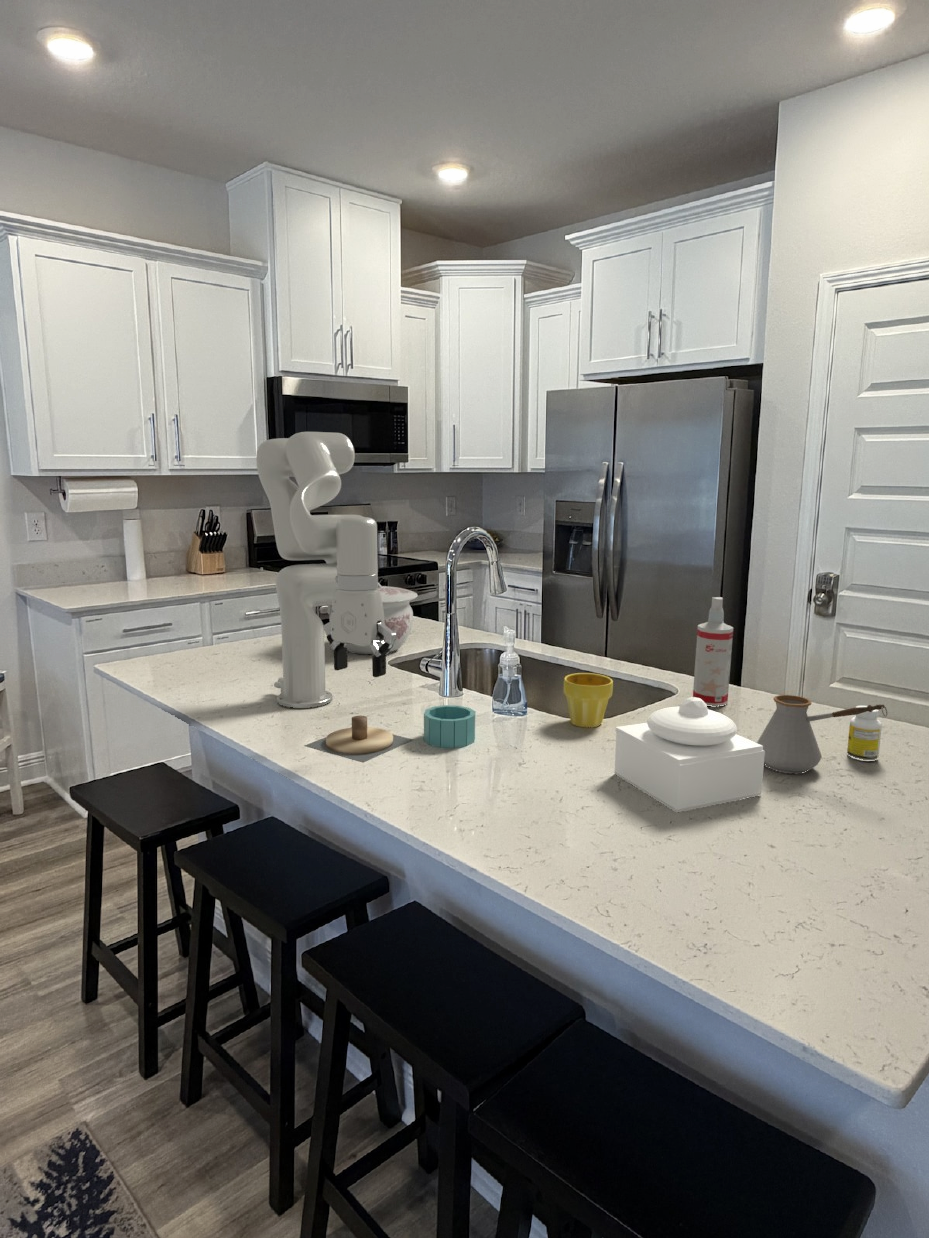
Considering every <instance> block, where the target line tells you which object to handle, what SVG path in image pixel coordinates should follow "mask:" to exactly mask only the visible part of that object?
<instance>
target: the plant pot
mask: <svg viewBox="0 0 929 1238" xmlns="http://www.w3.org/2000/svg"><path fill="white" fill-rule="evenodd" d="M613 689H614V680H613V679H612V678H611V677H609V676H607V675H603V674H598V673H593V672H592V673H591V672H577V673H571V674H568V675H565V677H564V678H563V694H564V696H566V701H567V706H568V712H569V713H568V714H569V717H570V718H569V719H570V723H571V724H572V725H574V726H577V727H580V728H588V727H589V728H590V727H591V728H596V727H600V726H601V725H602V724H601V723H603V720H604V716H605V712H606V709H607V707H608V702H609V700H610V699H611V697H612V696H613ZM600 724H601V725H600ZM599 725H600V726H599Z"/></svg>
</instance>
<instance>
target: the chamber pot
mask: <svg viewBox="0 0 929 1238" xmlns="http://www.w3.org/2000/svg"><path fill="white" fill-rule="evenodd" d="M378 591H380V594H381V598H382V603H383V611H384V621H385V625H386V626H387V627H388V628H389V629H391V630H392V631H393V632H395V633H396V635H397V636H396V639H395V641H394V643H393V647H392V648H391V649H390V651H389V653H392V652H395V651H397V650H399V649H400V648H402V646H403V645H404V643H406V641H407V639H408V637H409V635H410V634H411V631H412V626H413V622H414V620H413V619H414V611H413V608H412V607H411V605H410V602H411V601H413V600H414V599H416V598H417V597H418V596H419V595H418V593H417V592H416V591H412V590H409V589H406V588H402V587H396V586H389V585H387V586H386V585H381V584H380V583H379V582H378ZM326 607H327V614H328V615H329V617H328V619H329V622H330V621H331V613H332V605H326ZM312 609H313V611H314V612H315V613H316V609H317V606H316V607H313V608H312ZM385 640H386V637H384V640H383V642H384V643H385ZM377 646H378V645H377ZM344 648H347V652H350V653H352V652H354V653H353V654H356V653H359V654H358V655H362V654H374V653H373V651H372V649H371V648H370V646H369V645H368V646H359V645H352V644H346V645H345V646H344ZM378 648H379V646H378ZM394 650H395V651H394Z"/></svg>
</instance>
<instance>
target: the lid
mask: <svg viewBox="0 0 929 1238" xmlns="http://www.w3.org/2000/svg"><path fill="white" fill-rule="evenodd" d="M351 727H352V728H351ZM351 727H346V728H340V729H338V730H334V731H333V732H330V733H329V734H328V735H327V736H325V737H326V746H327V747H328V748H329V749H330V750H333V751H335V752H339V753H344V754H368V753H375V752H379V751H382V750H385V749H387V748H389V747H390V746H391V745H392V744H393V735H394V734H393V733H391V732H390V731H388V730H386V729H383V728H378V727H370V726H368V717H367V716H365V715H354V716H352V717H351ZM392 734H393V735H392Z"/></svg>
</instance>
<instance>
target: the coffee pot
mask: <svg viewBox="0 0 929 1238" xmlns="http://www.w3.org/2000/svg"><path fill="white" fill-rule="evenodd" d="M773 701H774V702H775V706H776V709H775V711H774V712H773V714H772V716H771V717H770V719H769V720H768V722H767V724H766V726H765V728H764V730H763V731H762V733H761V735H760V737H758V740H757V742H756V743H758V744H760V745H762V746H763V750H764V751H765V757H764V763H765V764H766V766H767V767H770V768H771V769H773V770H772V771H774V770H777V771H780V772H779V773H781V772H784V773H783V774H787V773H802V772H805V771H807V770H809V771H810V770H812V769H813V768H815V767H816V766H818V764H819V763H820V762H821V760H822V754H821V750H820V747H819V744H818V742H817V739H816V736H815V733H814V730H813V727H812V724H811V722H814V721H820V720H825V719H830V718H840V717H849V716H856V715H857V714H860V713H864V712H867V711H869V712H872V711H873V710H879V711H881V713H882V715H883V716H884V717H888V709H887V707H886V706H885V705H884V704H875V705H871V704H869V705H866V706H867V707H856V706H855V707H851V708H847V709H842V710H841V709H840V710H837V711H833V712H829V713H822V714H816V715H810V716H809V715H808V713H807V712H808V709H809V706H811V705H812V701H811V700H810V699H809V698H806V697H802V696H799V695H791V694H779V695H774V697H773ZM884 709H885V712H884ZM766 766H765V767H766ZM767 767H766V768H767ZM771 769H770V770H771ZM777 771H776V772H777Z"/></svg>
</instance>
